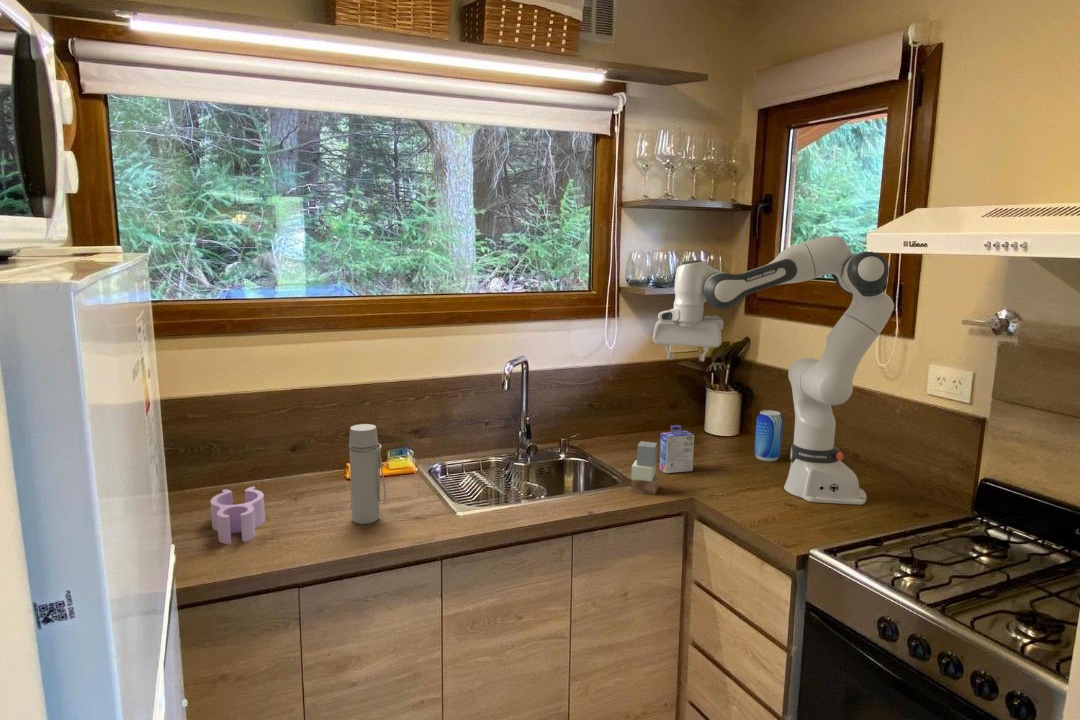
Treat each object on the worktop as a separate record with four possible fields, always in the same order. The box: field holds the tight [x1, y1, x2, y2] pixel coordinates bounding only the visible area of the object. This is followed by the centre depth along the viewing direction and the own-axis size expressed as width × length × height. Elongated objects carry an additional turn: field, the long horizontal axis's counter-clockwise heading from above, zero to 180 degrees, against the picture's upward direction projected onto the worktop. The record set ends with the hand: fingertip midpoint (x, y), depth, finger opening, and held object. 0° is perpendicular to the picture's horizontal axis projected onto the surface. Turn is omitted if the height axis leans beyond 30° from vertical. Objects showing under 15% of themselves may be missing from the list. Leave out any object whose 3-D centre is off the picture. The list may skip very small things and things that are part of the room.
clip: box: [210, 486, 266, 545], centre depth 177 cm, size 20×12×7 cm, turn 20°
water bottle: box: [348, 423, 387, 525], centre depth 181 cm, size 9×8×25 cm
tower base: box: [630, 474, 660, 496], centre depth 208 cm, size 7×7×4 cm
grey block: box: [636, 440, 658, 467], centre depth 206 cm, size 5×5×6 cm
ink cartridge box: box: [659, 424, 695, 474], centre depth 225 cm, size 10×6×14 cm, turn 106°
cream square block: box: [630, 459, 657, 482], centre depth 207 cm, size 6×6×4 cm
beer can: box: [753, 409, 784, 462], centre depth 238 cm, size 8×8×16 cm
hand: (685, 359), depth 213 cm, fingers open, 8 cm apart
